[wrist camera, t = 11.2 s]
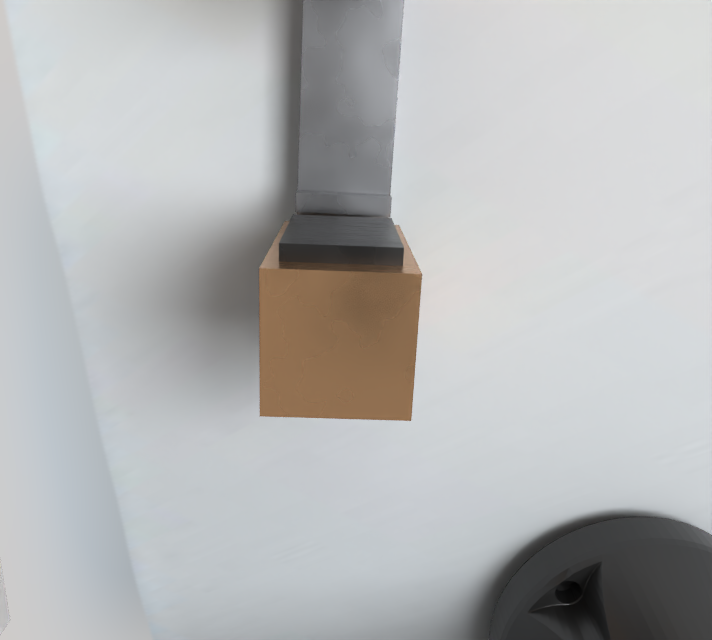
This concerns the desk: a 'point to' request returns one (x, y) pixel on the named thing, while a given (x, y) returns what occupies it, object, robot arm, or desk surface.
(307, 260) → the tan wooden block
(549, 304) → the desk surface
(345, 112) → the rail
